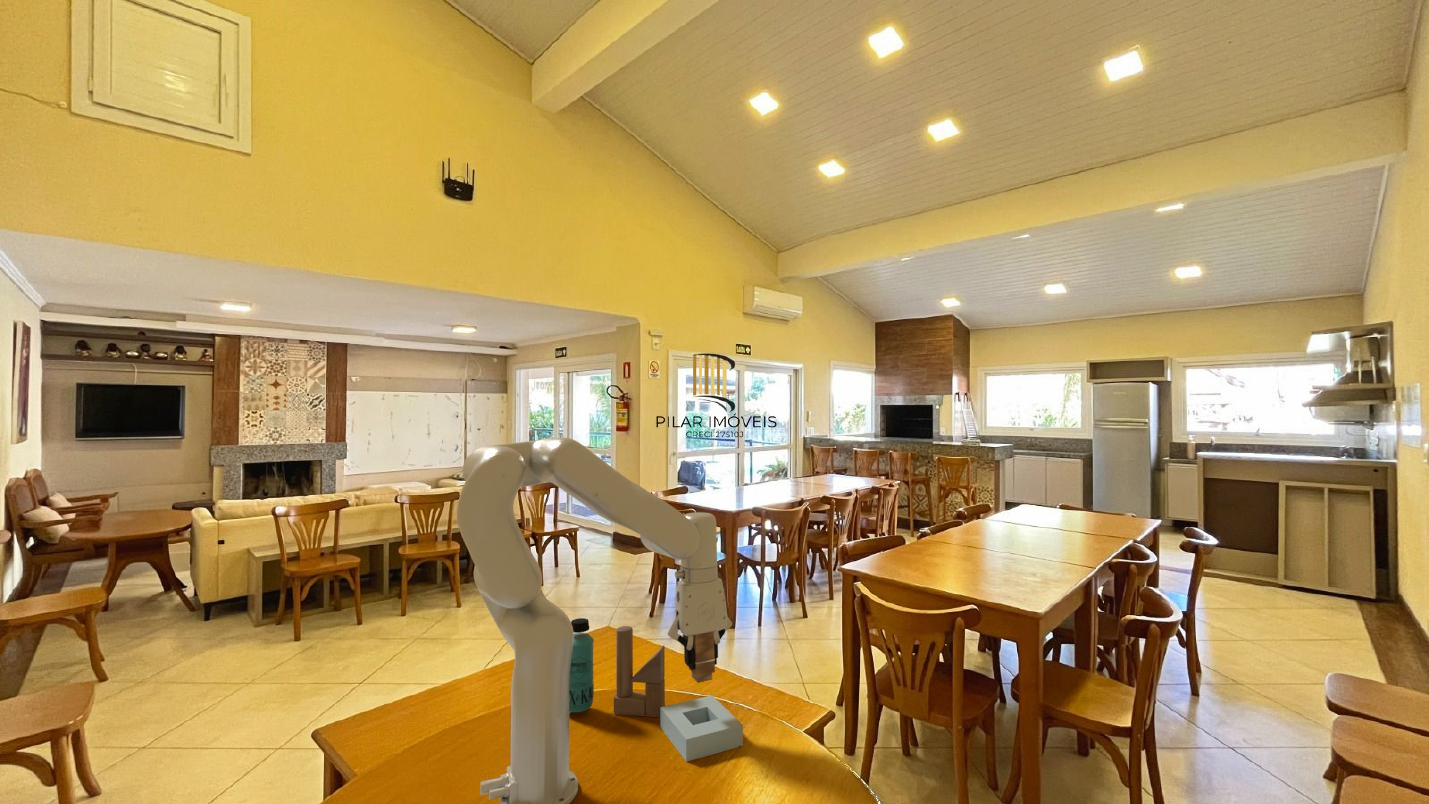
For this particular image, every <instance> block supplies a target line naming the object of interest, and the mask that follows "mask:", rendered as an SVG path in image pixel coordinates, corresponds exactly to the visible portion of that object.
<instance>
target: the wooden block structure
mask: <svg viewBox="0 0 1429 804" xmlns="http://www.w3.org/2000/svg"><path fill="white" fill-rule="evenodd" d="M633 634H634V629H633V627H632V626H628V625H623V626H619V627H617V629H616V634H615V635H616V644H615V645H616V654H615V655H616V660H615V661H616V666H615V667H616V676H615V677H616V681H615V682H616V684H615V685H616V687H615V688H616V689H615V690H616V693H615V696H614V698H613V714H614V715H620V716H621V715H623V716H636V717H648V718H649V717H650V718H659V719H660V707H664V706H666V702H665V701H666V699H665V697H666V691H665V689H666V688H665V687H666V686H665V685H666V682H665V673H666V672H665V671H666V669H665V667H666V666H665V659H666V658H665V652H666V651H665V644H664V645H662V646H661V647H660V648H659V649H658V650H657V651H656V652H655V653H654V654H653V655H652V656H651V657H650V658H649V659H648V660H647V661H646V663H644V664H643V665H642V667H640V668H639V669H638V671H636V673H634V669H633V668H634V656H633V655H634V652H633V651H634V650H633V649H634V644H633V643H634V642H633V640H634V635H633ZM634 683H644V685H645V687H644V688H645V694H644V693H643V692H641V691H640V692H638V691H634V687H633V686H634Z"/></svg>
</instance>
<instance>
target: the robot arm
mask: <svg viewBox="0 0 1429 804" xmlns="http://www.w3.org/2000/svg"><path fill="white" fill-rule="evenodd" d="M462 476H463V479H464V484H463V486H462V488H461V491H460V495H459V498H458V502H457V509H456V519H457V527H458V529H459V532H460V534H461V538H462V540H463V542H464V544H465V546H466V548H467V550H468V552H469V555H470V559H471V560H472V562H473V564H474V569H473V578H474V582H475V583H474V584H475V586H476V588H477V590H478V593H479V595H480V596H481V598H482V600H483V602H484V604H485V606H486V607H487V610H488V611H489V613H490V615H491V617H492V619H493V621H494V623H495V624H496V627H497V629H498V630H499V632H500V634H501V635H502V637H503V638H504V640H505V641H506V642H507V643H508V645H510V647H511V648H512V649H513V651H514V652H513V653H514V664H513V672H512V677H511V689H510V690H511V691H510V692H511V693H510V707H511V708H510V710H511V711H510V716H511V717H510V765H508V766H506V773H503V774H500V777H497V778H491V779H490V778H489V779H488V780H487V779H486V780H482V781H480V791H479V792H480V796H484V795H488V799H489V801H493V800H496V799H498V798H499V804H500V803H501V804H570V803H572V801H574V799H575V798H576V796H577V794H578V792H579V791H578V790H579V781H578V777H577V776H576V775H575V773H574V772H573V771H571V770H570V712H569V676H570V663H571V656H572V650H573V642H574V634H575V633H574V632H573V627H572V624H571V620H570V618H569V616H568V615H567V614H566V612H565V611H564V610H562V608H560V607H559V606H557V605H556V604H555V603H553V602H551V601H550V600H549V599H547V597H546V596H545V594H544V591H543V590H542V584H543V573H542V570H541V568H540V565H539V562H538V561H537V559H536V558H535V556H534V554H533V552H532V550H531V548H530V547H529V544H528V543H527V541H526V539H525V537H524V535H523V533H522V531H521V529H520V527H519V524H518V522H517V518H516V516H515V511H514V505H515V504H514V503H515V501H516V500H515V498H516V497H517V494H518V491H519V490H520V488H523V487H530V486H535V485H540V484H544V483H550V484H553V485H554V486H556V487H558V488H559V489H560V490H562V491H563V492H565V493H566V494H568V495H570V496H571V497H572V498H574V499H575V500H577V501H578V502H579V503H581V504H582V505H584V506H585V507H587V508H588V509H590V511H593V512H594V513H595V514H596V515H598V516H600V517H601V518H603V519H605V520H607V521H609V522H611V523H613V524H616V525H619V526H621V527H625V528H627V529H628V530H630V531H632V532H635V533H636V534H638V535H639V537H640V541H641V543H642V544H643V546H644V547H645V548H646V549H648V550H649V551H651V552H653V553H656V554H658V555H662V556H666V557H669V558H672V559H674V560H680V566H679V570H677V571H674V576H675V579H680V580H679V581H678V584H677V588H676V595H675V608H674V620H673V622H672V624H671V626H670V627H669V630H668V632H667V636H668V637H669V638H671V639H672V640H675V641H677V642H678V643H679V644H681V645H682V646H683V649H684V651H683V652H684V653H683V654H684V656H683V657H684V664H685V665H686V666H687V667H688V669H689V668H690V669H691V670H694V669H695V650H694V649H693V640H694V635H699V634H704V633H709V632H714V659H715V665H717V664H718V659H719V644H721V639H722V638H723V636H724V635H725V634H726V632H727V631H729V629H731V627H732V626H733V622H732V621H731V619H730V617H729V616H728V611H727V601H726V594H725V588H724V584H723V581H722V578H720V577H719V576H718V574H719V573H718V547H717V546H718V545H717V543H718V542H717V541H718V540H717V539H718V538H717V519H716V517H715V515H714V514H712V513H710V512H689V513H685V514H683V513H682V512H681V511H679V510H678V509H676V508H675V507H673V506H672V505H671V504H669V503H668V502H666V501H664V500H663V499H662V498H660V497H658V496H657V495H655V494H653V493H651V492H650V491H648V490H647V489H646V488H643V487H642V486H640V485H639V484H637V483H636V482H634V481H633V480H631V479H628V478H627V477H626V476H625V475H623V474H622V473H620V472H619V471H618V470H616V469H615V468H614V467H613V466H611V465H610V464H608V463H607V462H606V461H604V460H603V459H602V458H600V457H599V456H598V455H597V454H595V453H594V452H593V451H591V450H590V449H589V448H587V447H586V446H584V445H583V444H582V443H580V442H579V441H577V440H575V439H573V438H569V437H548V438H547V437H546V438H542V439H535V440H529V441H521V442H513V443H511V442H510V443H503V444H492V445H484V446H480V447H478V448H477V449H475V450H473V451H472V452H471V453H470V454H469V455H468V456H467V457H466V458H465V461H464V462H463V467H462ZM679 631H680V633H681V634H680V633H679Z"/></svg>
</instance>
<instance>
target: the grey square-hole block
mask: <svg viewBox="0 0 1429 804" xmlns="http://www.w3.org/2000/svg"><path fill="white" fill-rule="evenodd" d="M659 719H660V722H659V723H660V728H661V729H662V731H663V733H664V734H665V736H666V737H667V738H668V739H669V741H670V742H671V743H672V745H673V746H674V748H676V750H677V751H678V753H679V754H680V756H682V758H683V760H684V761H685V762H691V761H694V760H697V759H701V758H705V757H708V756H712V755H715V754H718V753H720V754H721V753H722V752H727V751H729V750H730V751H731V750H734V749H736V748H740V747H739V746H741V747H743V746H744V740H743V739H744V733H743V732H744V729H743V728H744V727H743V726H744V724H743V723H741V721H739V719H737V718H736V716H735V715H733V714H732V713H731V712H730V711H729V710H728V709H727V708H726V707H725V706H724V705H723V704H722V703H721V702H720V701H719V700H718V699H717V698H715V697H714V695H708V696H705V697H704V696H703V697H700V698H694V699H690V700H687V701H682V702H677V703H674V704H669V705H665V706H664V707H660V718H659Z"/></svg>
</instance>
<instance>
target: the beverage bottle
mask: <svg viewBox="0 0 1429 804" xmlns="http://www.w3.org/2000/svg"><path fill="white" fill-rule="evenodd" d="M570 622H571V624H572V627H573V633H574V642H573V650H572V656H571V663H570V676H569V713H580V712H585V711H587V710H589V709H590V708H591V707H592V706H593V703H594V697H595V696H594V694H595V692H594V691H595V690H594V685H595V681H594V673H595V671H594V666H595V664H594V640H595V639H594V637H592V635H590V634H589V633H587V632H588V631H589V630H590V622H589V619H588V618H585V617H584V618H583V617H581V618H575V619H572V620H570Z"/></svg>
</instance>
